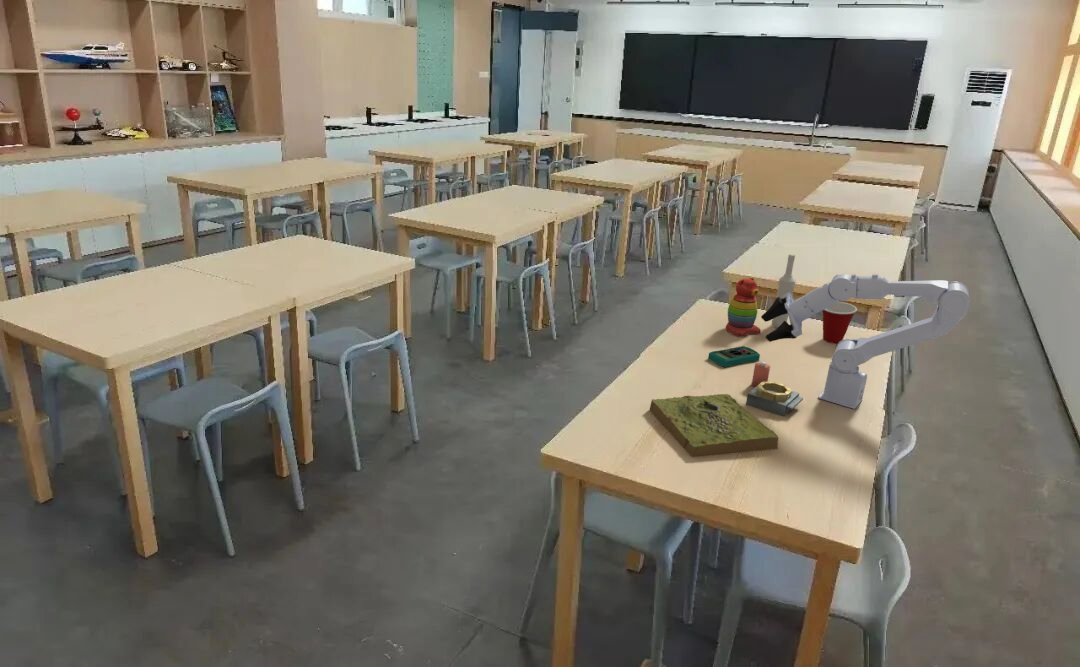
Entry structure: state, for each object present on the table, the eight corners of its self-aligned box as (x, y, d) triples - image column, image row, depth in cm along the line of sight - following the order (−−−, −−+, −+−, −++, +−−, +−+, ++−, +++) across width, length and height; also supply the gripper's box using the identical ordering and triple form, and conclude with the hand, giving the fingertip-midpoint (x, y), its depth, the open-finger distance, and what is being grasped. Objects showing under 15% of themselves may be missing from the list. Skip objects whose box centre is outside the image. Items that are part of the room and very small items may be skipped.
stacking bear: (738, 337, 235) (747, 284, 229) (717, 327, 243) (725, 276, 237) (763, 333, 240) (772, 281, 234) (741, 323, 248) (749, 273, 242)
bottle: (785, 324, 250) (798, 253, 241) (788, 329, 245) (801, 257, 236) (769, 323, 250) (782, 252, 242) (772, 328, 246) (785, 256, 237)
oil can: (768, 385, 200) (772, 362, 198) (763, 390, 197) (767, 366, 195) (754, 381, 203) (758, 358, 200) (749, 385, 200) (753, 362, 197)
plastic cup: (807, 337, 239) (813, 302, 235) (830, 333, 244) (837, 299, 240) (833, 348, 230) (841, 313, 226) (856, 344, 235) (864, 309, 231)
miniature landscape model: (691, 459, 161) (694, 439, 160) (648, 411, 182) (650, 393, 181) (777, 451, 167) (781, 431, 165) (726, 405, 188) (729, 388, 187)
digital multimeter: (760, 361, 218) (762, 352, 217) (723, 369, 211) (725, 359, 210) (743, 353, 224) (744, 344, 223) (706, 360, 217) (707, 351, 216)
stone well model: (802, 405, 190) (805, 389, 188) (789, 418, 182) (792, 401, 180) (760, 392, 196) (763, 376, 194) (745, 404, 188) (748, 388, 187)
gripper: (796, 277, 194) (753, 302, 202) (807, 315, 184) (760, 340, 191) (811, 292, 197) (767, 316, 205) (822, 330, 187) (776, 354, 195)
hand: (765, 329), depth 198 cm, fingers open, 7 cm apart
